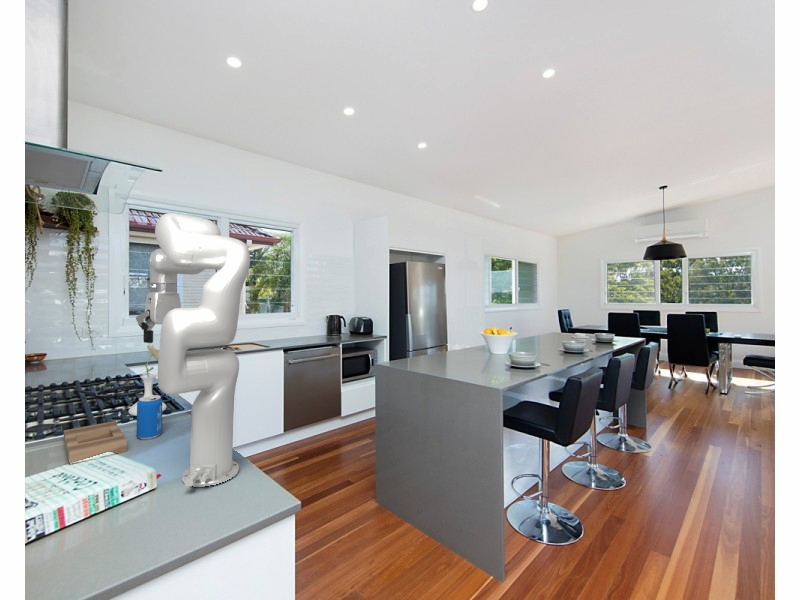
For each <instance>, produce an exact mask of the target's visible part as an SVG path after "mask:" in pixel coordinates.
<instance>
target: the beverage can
mask: <svg viewBox="0 0 800 600" xmlns="http://www.w3.org/2000/svg"><path fill="white" fill-rule="evenodd" d="M137 402H138V403H137ZM137 402H136V403H137V416H136V430H135V431H136V438H139V439H140V440H143V441H145V440H151V439H155V438H157V437H159V436H160V435H161V434H162V433H163V432H162V431H163V430H162V429H163V411H162V402H163V399H162V397H161V395H157V394H155V395H154V394H153V395H151V396H145V397H143V396H142V397H140V398H138V401H137Z"/></svg>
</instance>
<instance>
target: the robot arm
mask: <svg viewBox="0 0 800 600" xmlns="http://www.w3.org/2000/svg"><path fill="white" fill-rule="evenodd" d="M154 235H155V239H156V241H157V245H159V248H157V249H154V250H153V251H151V252H150V255H149V284H148V285H147V286H146V288H147V290H149V292H148V293H147V296H146V299H145V306H144V312H142V313H140V314H139V315H137V316H136V317H135V321H136V322H137V325H138V326H139V327H140V329H141V330H142V331H143V339H142V340H143V343H144V344H145V343H146V344H152V343H153V342H154V330H153V328H154V327H155V325H161V329H160V337H159V338H160V339H159V341H160V342H159V350H158V351H159V352H158V353H159V361H158V360H157V361H158V364H157V385H158V388H159V390H160V391H161V392H162V393H163V394H165V395H169V396H170V395H179V394H186V393H193V392H198V391H199V393H198V394H197V395H196V397H195V399H194V401H193V403H192V406H191V410H190V411H191V414H190V415H191V416H190V442H189V443H190V444H189V445H190V448H189V454H190V455H189V467H188V468H186V469H185V470H184V471H183V473H182V478H181V479H182V480H181V481H182V482H183V484H184V486H185V487H187V488H190V487H192V486H193V488H206V487H205V486H209V487H211V486H210V485H214V486H217V485H216V484H218V485H220V484H219V483H221V484H223V483H222V482H224V483H225V481H226V482H228V481H230V480H232V479H233V478H234V477H236V475H237V474H238V472H239V468H240V467H239V466H240V465H239V463H238V462H237V461H235V460H233V449H234V448H233V446H234V443H233V441H234V413H235V410H234V409H235V407H234V406H235V392H236V386H237V382H238V376H239V372H240V360H239V358H238V355H237V354H236V353H235V352H233V351H232V350H229V349H223V348H216V349H215V348H214V349H204V350H203V349H202V350H197V351H196V350H195V351H194V350H193V351H189V350H191V349H201V348H212V347H221V346H226V345H229V344H231V343H232V342H233V341H234V340H235V338H236V335H237V330H238V322H239V313H240V305H241V304H240V303H241V294H242V290H243V287H244V284H245V281H246V280H247V276H248V274H249V271H250V265H251V253H250V250H249V247H248V245H247V244H246V243H245V242H244V241H242V240H240V239H238V238H234V237H231V236H224V235H222V234H221V230H220V228H219V226H218V225H217V223H215V222H214V221H212V220H210V219H208V218H204V217H200V216H194V215H193V216H192V215H188V214H187V215H186V214H180V213H175V212H174V213H173V212H169V213H165V214H163V215H161V216H160V217H159V218H158V219H157V222H156V223H155V227H154ZM205 270H216V272H215V273H213V274H212V275H211V276H210V277H209V278H208V279H207V280H206V281H205V283H204V284H203V287H202V289H201V296H200V297H201V300H200V305H199V306H198V307H182V303H181V297H180V294H179V292H178V275H191V276H192V275H198V274H200V273H202V272H203V271H205ZM232 477H233V478H232ZM229 479H230V480H229ZM227 480H228V481H227Z"/></svg>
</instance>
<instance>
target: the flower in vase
mask: <svg viewBox="0 0 800 600" xmlns="http://www.w3.org/2000/svg"><path fill="white" fill-rule="evenodd" d="M146 347H147V350H148V351H149V353H150V356H149V357H148V359H147V361H146V364H145V363H144V366H145V369H146V371H145V373H146V374H143V375H140V379H141V380H142V382H143V384H144V385H143V386H144V394H143V395H142V397H145V396H151V395H154V394H153V384H154V381H155V379H156V377H158V374H155V373H154V374H153V373H152V374H151V373H150V374H149V372H150V371H152V370H154V369H155V368H154V367H153V366H151V367H150V369H149V368H148V365H149V364H148V363H149V361H150V360H151V358H152V357H153V358H154V359H155V360H157V361H159V350H158V348H157V349H156V348H155V346H154V345H153V344H151V343H148V344H147V346H146ZM137 403H138V401H137V402H135V403H134V404H133V405H132V406H130V408H129V409H128V414H129V415H130V416H133V417H134V416H135V417H137ZM167 407H168V406H167V404H166V403H165V402H164V401H162V412H164V411H166V409H167Z"/></svg>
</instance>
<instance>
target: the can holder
mask: <svg viewBox="0 0 800 600" xmlns="http://www.w3.org/2000/svg"><path fill="white" fill-rule="evenodd" d="M63 442H64V443H63V444H64V447H65V453H66V457H67V461H69V462H68V464H69V463H72V462H75V461H79V460H83V459H86V458H90V457H93V456H96V455H100V454H103V453H106V452H113V453H119V454H122V453H121V452H123V453H127V452H128V441H127V439H126V437H125V436H124V434H123V432H122V431H121V429H120V427H119V425H118V423H117V422H116V420H114V421H108V422H103V423H98V424H91V425H87V426H80V427H76V428H71V429H64V430H63Z"/></svg>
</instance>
